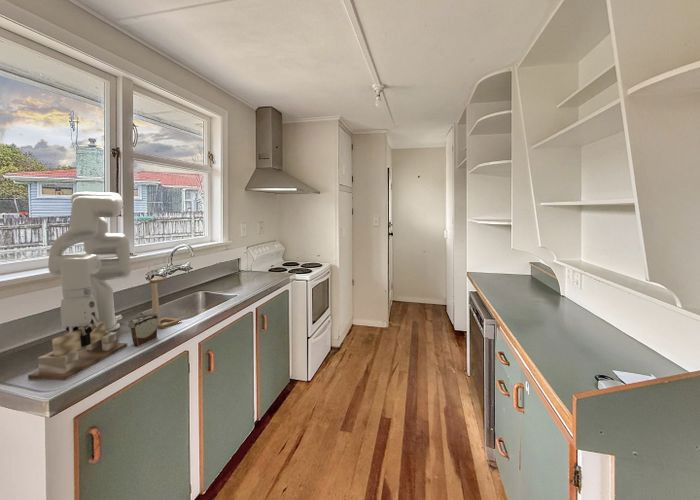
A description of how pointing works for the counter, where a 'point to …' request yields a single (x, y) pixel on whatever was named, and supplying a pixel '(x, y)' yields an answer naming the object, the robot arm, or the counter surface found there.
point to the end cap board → (83, 362)
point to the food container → (143, 328)
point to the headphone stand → (156, 306)
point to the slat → (75, 340)
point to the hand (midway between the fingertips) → (81, 344)
